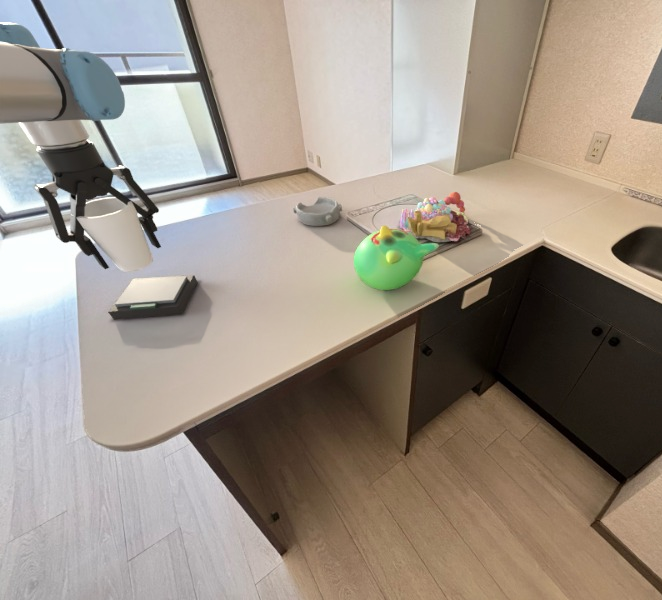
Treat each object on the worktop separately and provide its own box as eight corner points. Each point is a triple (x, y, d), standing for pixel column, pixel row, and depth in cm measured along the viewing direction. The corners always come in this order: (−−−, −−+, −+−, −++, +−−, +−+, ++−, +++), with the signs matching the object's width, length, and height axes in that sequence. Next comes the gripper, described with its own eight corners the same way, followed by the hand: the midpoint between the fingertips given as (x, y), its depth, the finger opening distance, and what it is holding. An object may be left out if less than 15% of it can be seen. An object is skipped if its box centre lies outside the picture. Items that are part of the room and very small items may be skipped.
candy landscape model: (475, 246, 101) (480, 218, 94) (399, 244, 100) (400, 216, 94) (463, 210, 119) (467, 185, 113) (399, 208, 119) (400, 183, 113)
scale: (113, 319, 72) (105, 309, 70) (137, 286, 81) (131, 276, 79) (181, 314, 74) (175, 303, 72) (197, 282, 83) (193, 272, 81)
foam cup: (170, 260, 72) (141, 204, 63) (124, 281, 66) (86, 223, 57) (146, 247, 75) (116, 193, 67) (101, 266, 69) (62, 209, 61)
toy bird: (393, 256, 95) (394, 209, 85) (436, 282, 86) (443, 233, 76) (343, 281, 85) (338, 231, 76) (386, 313, 76) (387, 261, 67)
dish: (290, 221, 109) (287, 207, 106) (317, 206, 118) (315, 192, 115) (323, 232, 104) (321, 218, 101) (349, 216, 113) (348, 202, 110)
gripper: (126, 126, 63) (175, 230, 78) (-36, 153, 49) (61, 272, 64) (144, 134, 60) (191, 240, 74) (-23, 164, 46) (76, 287, 61)
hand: (131, 255), depth 69 cm, fingers closed on foam cup, 9 cm apart
